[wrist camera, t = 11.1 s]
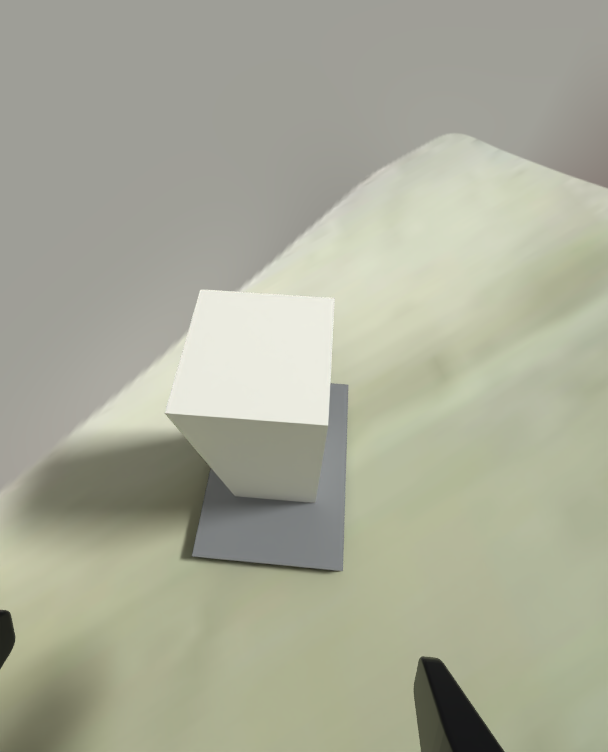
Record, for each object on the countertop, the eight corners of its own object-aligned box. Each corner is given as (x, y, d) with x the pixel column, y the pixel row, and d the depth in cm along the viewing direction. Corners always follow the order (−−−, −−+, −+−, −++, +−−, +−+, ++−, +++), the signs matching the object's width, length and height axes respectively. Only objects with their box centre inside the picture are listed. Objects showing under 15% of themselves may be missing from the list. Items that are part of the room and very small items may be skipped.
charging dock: (341, 571, 20) (349, 569, 16) (195, 556, 20) (173, 552, 16) (348, 347, 27) (355, 313, 23) (240, 340, 27) (231, 304, 23)
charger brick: (315, 502, 20) (328, 425, 10) (234, 496, 21) (164, 413, 10) (320, 426, 23) (334, 298, 12) (247, 421, 23) (200, 289, 12)
